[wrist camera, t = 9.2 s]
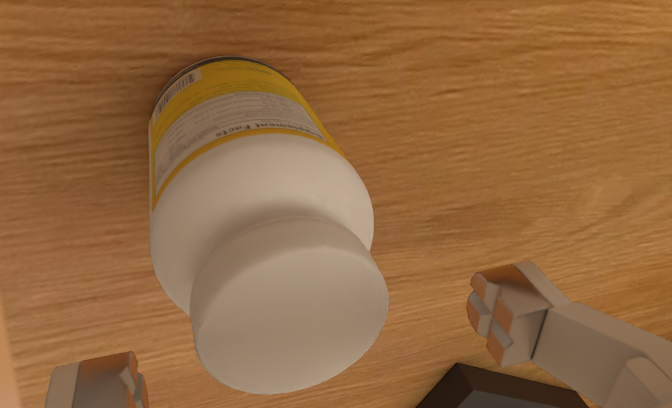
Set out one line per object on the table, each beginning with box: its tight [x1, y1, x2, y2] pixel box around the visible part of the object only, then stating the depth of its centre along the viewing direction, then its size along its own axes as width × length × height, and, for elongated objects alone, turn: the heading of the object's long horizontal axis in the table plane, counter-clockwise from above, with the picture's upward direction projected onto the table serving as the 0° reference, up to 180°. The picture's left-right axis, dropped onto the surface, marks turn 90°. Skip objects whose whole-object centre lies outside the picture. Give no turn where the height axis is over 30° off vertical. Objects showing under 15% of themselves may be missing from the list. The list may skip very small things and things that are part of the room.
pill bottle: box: [148, 56, 389, 394], centre depth 16 cm, size 6×6×12 cm
